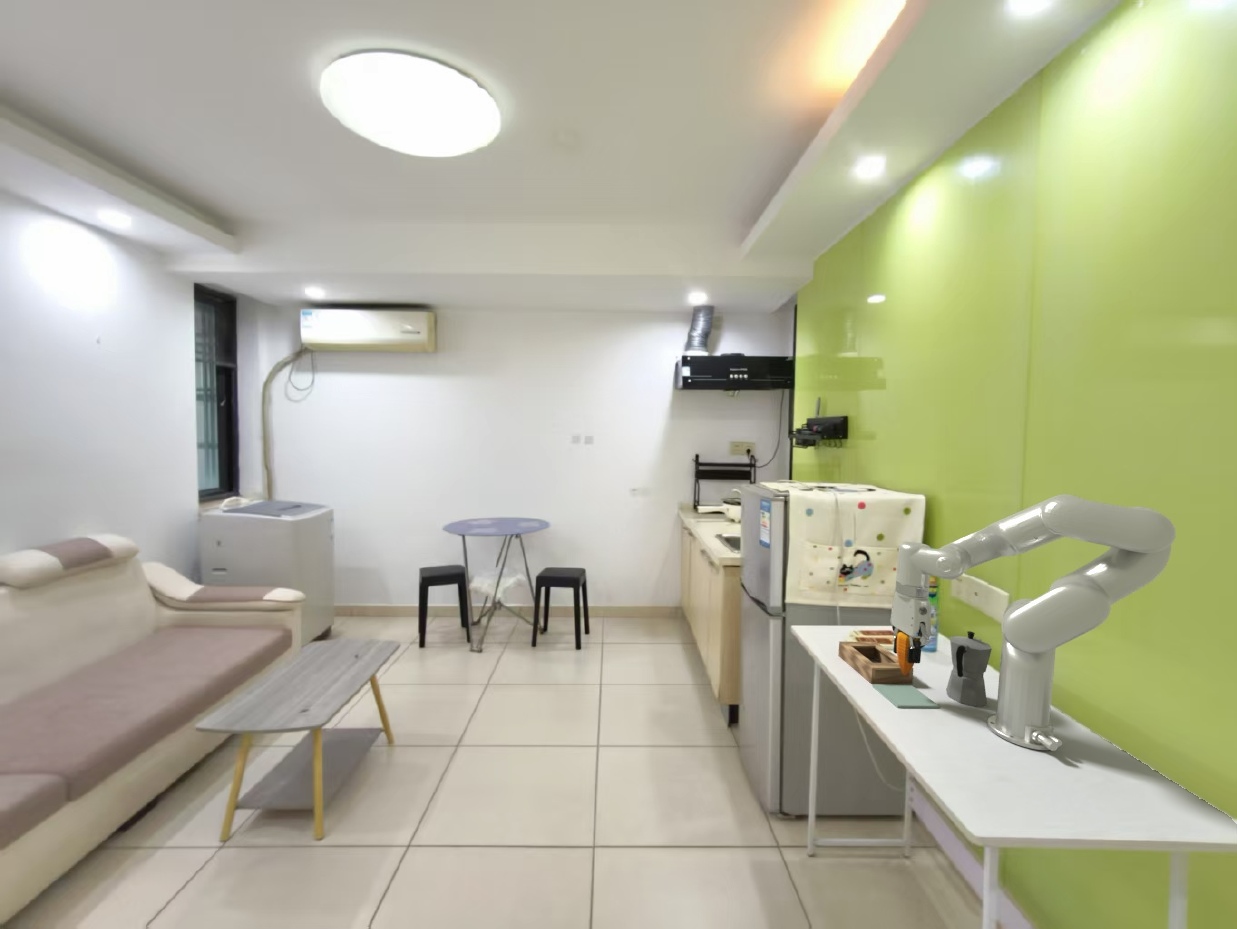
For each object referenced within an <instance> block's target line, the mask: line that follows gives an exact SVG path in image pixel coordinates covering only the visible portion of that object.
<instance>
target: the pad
mask: <svg viewBox="0 0 1237 929" xmlns="http://www.w3.org/2000/svg"><path fill="white" fill-rule="evenodd" d="M871 685H872V688H874V690H876V691H878V692H879V694H880V695H882V697H884V698H886V700H888V701H889V702H890V703H891V704H892V705H893V706H894V707H896V708H898V709H903V708H904V709H939V708H940V705H938V704H937V703H936V702H935V701H934V700H932V699H931V698H929V697H928V696H927V695H925V694H924V693H923V692H921V691H920V690H919V689H917V687H915V686H914V685H913V684H871Z"/></svg>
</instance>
